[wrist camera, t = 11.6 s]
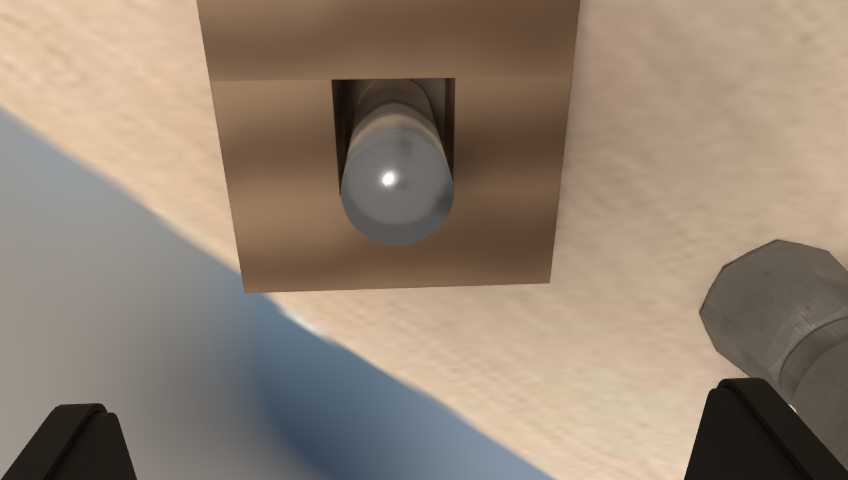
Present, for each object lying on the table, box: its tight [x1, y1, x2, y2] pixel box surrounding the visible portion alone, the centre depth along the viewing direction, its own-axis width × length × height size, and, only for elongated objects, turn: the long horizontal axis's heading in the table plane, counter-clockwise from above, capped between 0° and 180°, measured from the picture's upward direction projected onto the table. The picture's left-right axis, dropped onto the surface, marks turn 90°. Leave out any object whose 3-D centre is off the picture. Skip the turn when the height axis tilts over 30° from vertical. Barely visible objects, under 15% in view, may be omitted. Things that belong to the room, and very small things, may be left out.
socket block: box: [197, 0, 580, 293], centre depth 29 cm, size 16×16×5 cm
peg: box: [341, 78, 454, 245], centre depth 26 cm, size 4×4×12 cm
